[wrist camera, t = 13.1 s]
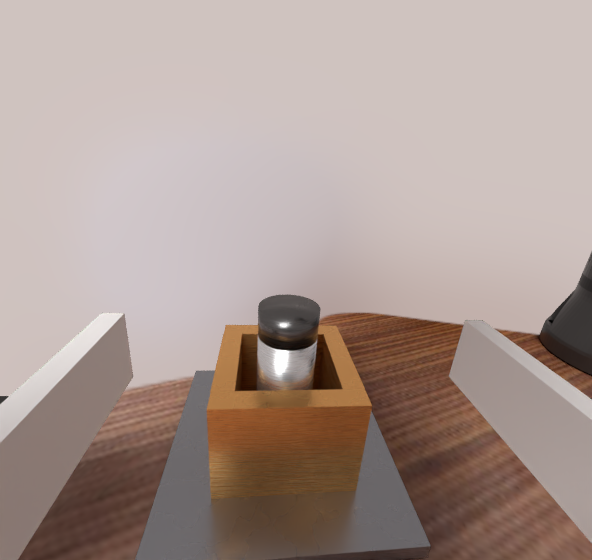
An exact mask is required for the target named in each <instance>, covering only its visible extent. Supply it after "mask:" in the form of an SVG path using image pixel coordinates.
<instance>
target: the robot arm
mask: <svg viewBox="0 0 592 560" xmlns="http://www.w3.org/2000/svg"><path fill="white" fill-rule="evenodd" d="M540 340H541V342H542V343H543V345H544V346H545V347H546V348H547V349H548V350H549V351H551V352H552V353H553V354H555V355H556V356H557V357H559V358H560V359H562V360H564V361H565V362H567V363H569V364H571V365H572V366H574V367H576V368H578V369H580V370H582V371H584V372H586V373H588V374H591V375H592V252H591V254H590V257H589V259H588V262H587V264H586V266H585V269H584V271H583V273H582V276H581V278H580V281H579V283H578V285H577V287H576V289H575V290H574V291H573V292H572V294H570V296H569V297H568V298H567V299H566V300H565V301H564V302H563V303H562V304H561V305H560V306H559V307H558V308H557V309H556V310H555V312H554V313H553V314H552V315H551V316H550V317H549V318H548V319H547V320H546V321H545V323H544V325H543V328H542V330H541V333H540ZM449 377H450V378H451V379H452V381H453V382H454V383H455V384H456V385H457V386H458V388H459V389H460V390H461V391H462V392H463V393H464V395H465V396H466V397H467V398H468V399H469V401H470V402H471V403H472V404H473V405H474V406H475V408H476V409H477V410H478V411H479V412H480V413H481V415H482V416H483V417H484V418H485V419H486V420H487V422H488V423H489V424H490V425H491V426H492V427H493V429H494V430H495V431H496V432H497V433H498V434H499V436H500V437H501V438H502V439H503V440H504V441H505V443H506V444H507V445H508V446H509V447H510V448H511V450H512V451H513V452H514V453H515V454H516V455H517V457H518V458H519V459H520V460H521V461H522V462H523V464H524V465H525V466H526V467H527V468H528V469H529V471H530V472H531V473H532V474H533V475H534V476H535V478H536V479H537V480H538V481H539V482H540V483H541V485H542V486H543V487H544V488H545V489H546V490H547V492H548V493H549V494H550V495H551V496H552V497H553V499H554V500H555V501H556V502H557V503H558V504H559V506H560V507H561V508H562V509H563V510H564V512H565V513H566V514H567V515H568V516H569V517H570V519H571V520H572V521H573V522H574V523H575V524H576V526H577V527H578V528H579V529H580V530H581V531H582V533H583V534H584V535H585V536H586V537H587V538H588V540H589V541H590V542H591V543H592V399H591V398H589V397H588V396H586V395H585V394H583V393H582V392H581V391H579V390H578V389H576V388H575V387H574V386H572V385H571V384H570V383H568V382H567V381H565V380H564V379H563V378H561V377H560V376H559V375H557V374H556V373H554V372H553V371H552V370H550V369H549V368H548V367H546V366H545V365H543V364H542V363H541V362H539V361H538V360H536V359H535V358H534V357H532V356H531V355H530V354H528V353H527V352H525V351H524V350H523V349H521V348H520V347H519V346H517V345H516V344H514V343H513V342H512V341H510V340H509V339H508V338H506V337H505V336H503V335H502V334H501V333H499V332H498V331H497V330H495V329H494V328H492V327H491V326H490V325H488V324H487V323H485V322H484V321H483V320H482V321H481V320H465V322H464V326H463V329H462V333H461V336H460V340H459V343H458V347H457V350H456V354H455V357H454V360H453V364H452V367H451V371H450V374H449ZM132 378H133V372H132V365H131V358H130V351H129V344H128V336H127V329H126V322H125V315H124V313H101V314H100V315H99V316H98V317H97V318H96V319H95V320H93V321H92V322H91V323H90V324H89V325H88V326H87V327H86V328H85V329H83V330H82V331H81V332H80V333H79V334H78V335H77V336H76V337H75V338H74V339H72V340H71V341H70V342H69V343H68V344H67V345H66V346H65V347H64V348H62V349H61V350H60V351H59V352H58V353H57V354H56V355H55V356H54V357H52V358H51V359H50V360H49V361H48V362H47V363H46V364H45V365H43V366H42V367H41V368H40V369H39V370H38V371H37V372H36V373H35V374H33V375H32V376H31V377H30V378H29V379H28V380H27V381H26V382H25V383H23V384H22V385H21V386H20V387H19V388H18V389H17V390H16V391H15V392H13V393H12V394H11V395H10V396H0V560H18V559H19V557H20V555H21V554H22V552H23V551H24V549H25V547H26V546H27V544H28V543H29V541H30V540H31V538H32V536H33V535H34V533H35V532H36V530H37V528H38V527H39V525H40V524H41V522H42V520H43V519H44V517H45V516H46V514H47V513H48V511H49V509H50V508H51V506H52V505H53V503H54V501H55V500H56V498H57V497H58V495H59V494H60V492H61V490H62V489H63V487H64V486H65V484H66V482H67V481H68V479H69V478H70V476H71V475H72V473H73V471H74V470H75V468H76V467H77V465H78V463H79V462H80V460H81V459H82V457H83V455H84V454H85V452H86V451H87V449H88V448H89V446H90V444H91V443H92V441H93V440H94V438H95V436H96V435H97V433H98V432H99V430H100V429H101V427H102V425H103V424H104V422H105V421H106V419H107V417H108V416H109V414H110V413H111V411H112V409H113V408H114V406H115V405H116V403H117V402H118V400H119V398H120V397H121V395H122V394H123V392H124V390H125V389H126V387H127V386H128V384H129V382H130V381H131V379H132Z"/></svg>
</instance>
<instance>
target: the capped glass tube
mask: <svg viewBox="0 0 592 560" xmlns="http://www.w3.org/2000/svg"><path fill="white" fill-rule="evenodd" d="M319 318H320V307H319V305H318V304H317V303H316V302H314V301H313V300H311V299H308V298H305V297H301V296H296V295H276V296H271V297H268V298H266V299H264V300H262V301H261V302H260V303H259V308H258V351H257V391H276V390H312V387H313V377H314V367H315V357H316V347H317V338H318V328H319Z"/></svg>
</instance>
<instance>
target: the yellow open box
mask: <svg viewBox="0 0 592 560" xmlns="http://www.w3.org/2000/svg"><path fill="white" fill-rule="evenodd" d="M257 351H258V325H226V327H225V332H224V335H223V339H222V343H221V347H220V352H219V356H218V361H217V365H216V369H215V371H196V373H195V376H194V379H193V382H192V385H191V388H190V391H189V394H188V397H187V400H186V404H185V407H184V410H183V413H182V416H181V419H180V422H179V425H178V428H177V431H176V435H175V438H174V441H173V444H172V447H171V450H170V453H169V456H168V459H167V462H166V466H165V469H164V472H163V475H162V478H161V481H160V484H159V487H158V490H157V493H156V497H155V500H154V503H153V506H152V509H151V512H150V515H149V518H148V521H147V524H146V528H145V531H144V534H143V537H142V540H141V543H140V546H139V549H138V552H137V555H136V559H135V560H400V559H412V558H424V557H427V556H428V553H429V550H430V547H431V545H430V543H429V541H428V539H427V536H426V534H425V532H424V529H423V527H422V525H421V523H420V520H419V518H418V516H417V513H416V511H415V509H414V507H413V504H412V502H411V500H410V497H409V495H408V493H407V491H406V488H405V486H404V484H403V481H402V479H401V477H400V475H399V472H398V470H397V468H396V465H395V463H394V461H393V459H392V456H391V454H390V452H389V449H388V447H387V445H386V443H385V440H384V438H383V436H382V433H381V431H380V429H379V427H378V424H377V422H376V420H375V417H374V415H373V413H372V411H371V409H372V404H371V402H370V400H369V397H368V395H367V393H366V391H365V388H364V385H363V383H362V381H361V379H360V377H359V374H358V372H357V370H356V368H355V365H354V363H353V361H352V359H351V357H350V354H349V352H348V350H347V348H346V346H345V343H344V341H343V339H342V337H341V334H340V333H339V331H338V328H337V326H319V328H318V338H317V347H316V357H315V367H314V377H313V387H312V390H276V391H257Z"/></svg>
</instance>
